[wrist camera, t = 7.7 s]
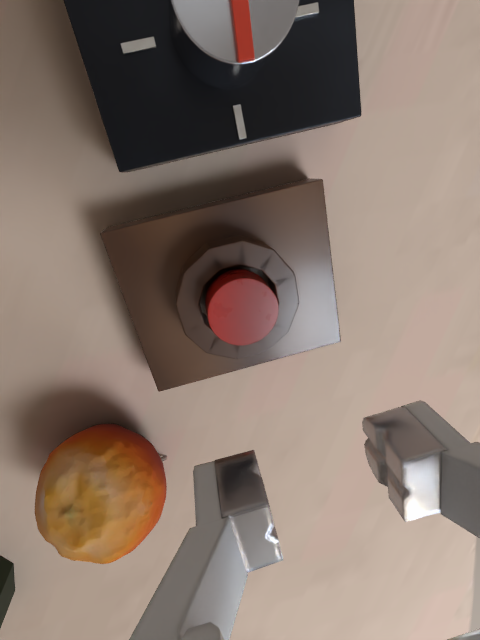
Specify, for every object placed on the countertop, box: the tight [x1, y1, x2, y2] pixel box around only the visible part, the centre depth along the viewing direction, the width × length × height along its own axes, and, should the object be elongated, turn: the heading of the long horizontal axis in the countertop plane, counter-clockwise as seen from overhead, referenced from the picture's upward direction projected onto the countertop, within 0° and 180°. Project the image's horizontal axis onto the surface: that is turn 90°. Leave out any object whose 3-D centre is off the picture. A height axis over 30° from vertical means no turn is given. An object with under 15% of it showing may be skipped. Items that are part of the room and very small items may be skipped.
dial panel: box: [64, 0, 361, 172], centre depth 17 cm, size 12×9×3 cm
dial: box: [168, 0, 299, 88], centre depth 13 cm, size 4×4×4 cm
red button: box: [205, 269, 279, 345], centre depth 19 cm, size 4×4×2 cm
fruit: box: [35, 424, 167, 564], centre depth 24 cm, size 8×8×8 cm
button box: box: [100, 179, 341, 391], centre depth 21 cm, size 12×10×4 cm
